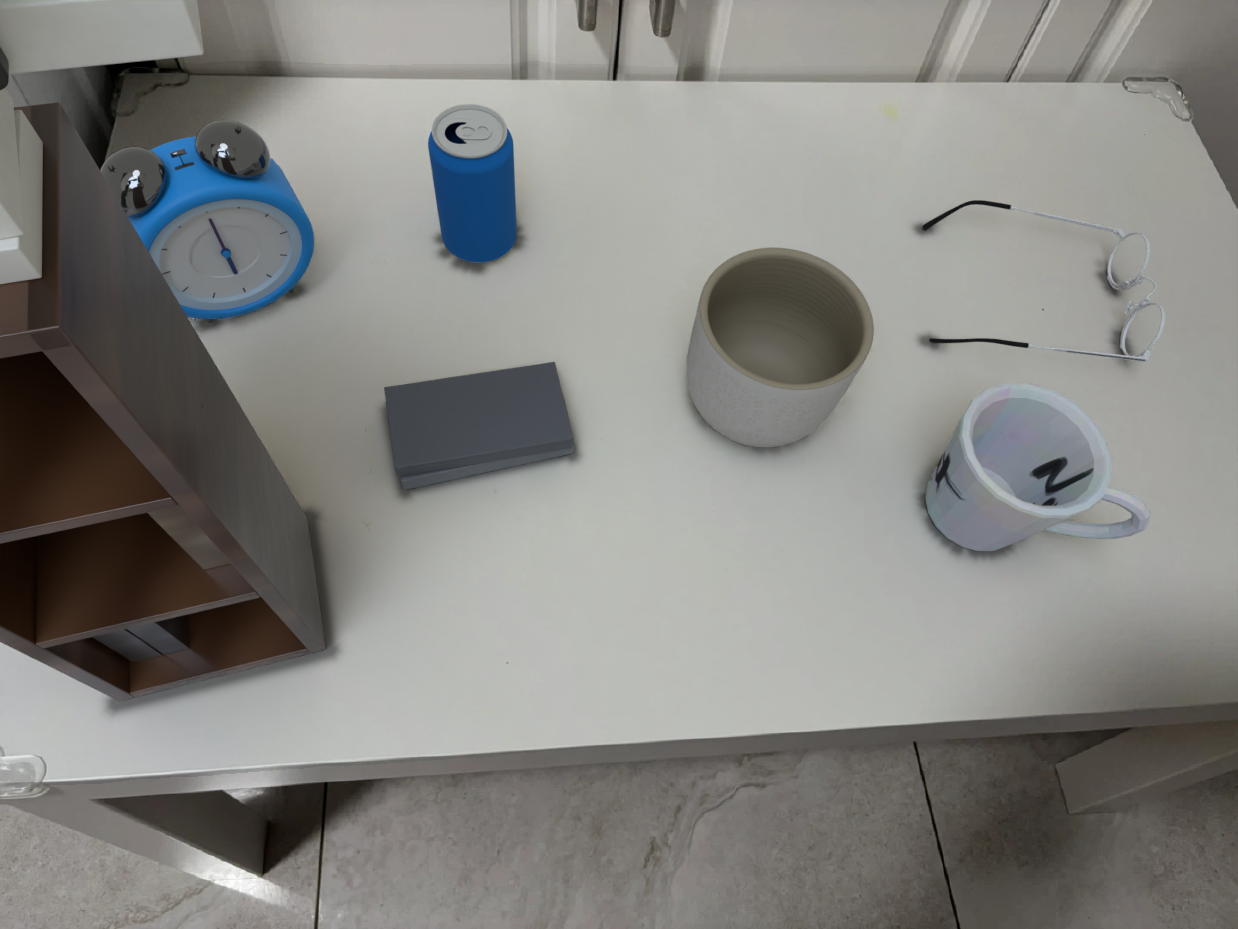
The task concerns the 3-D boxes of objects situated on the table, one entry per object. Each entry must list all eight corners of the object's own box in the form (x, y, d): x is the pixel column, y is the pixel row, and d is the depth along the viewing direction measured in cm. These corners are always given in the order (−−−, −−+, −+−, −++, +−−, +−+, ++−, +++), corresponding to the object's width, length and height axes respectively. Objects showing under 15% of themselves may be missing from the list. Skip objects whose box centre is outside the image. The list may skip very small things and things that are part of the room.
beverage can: (442, 212, 76) (426, 99, 66) (515, 211, 77) (511, 99, 66) (442, 269, 73) (425, 160, 63) (518, 268, 74) (514, 160, 63)
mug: (926, 428, 70) (982, 358, 61) (1105, 505, 68) (1189, 444, 59) (889, 533, 65) (944, 474, 56) (1080, 620, 63) (1168, 572, 54)
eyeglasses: (1142, 388, 73) (1180, 354, 69) (928, 356, 73) (952, 320, 69) (1114, 247, 81) (1147, 208, 76) (920, 217, 81) (941, 177, 76)
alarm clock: (174, 345, 68) (85, 207, 54) (150, 289, 70) (59, 144, 57) (333, 286, 71) (285, 144, 58) (305, 235, 74) (254, 87, 60)
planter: (840, 360, 72) (887, 275, 62) (811, 485, 66) (857, 413, 57) (699, 317, 73) (723, 227, 63) (658, 437, 67) (678, 357, 58)
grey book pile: (402, 495, 63) (396, 476, 61) (385, 408, 66) (378, 387, 64) (576, 456, 66) (578, 437, 63) (552, 375, 69) (552, 354, 66)
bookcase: (119, 701, 55) (-461, 414, 23) (114, 560, 59) (-381, 153, 27) (326, 650, 58) (60, 326, 26) (307, 518, 62) (59, 100, 30)
